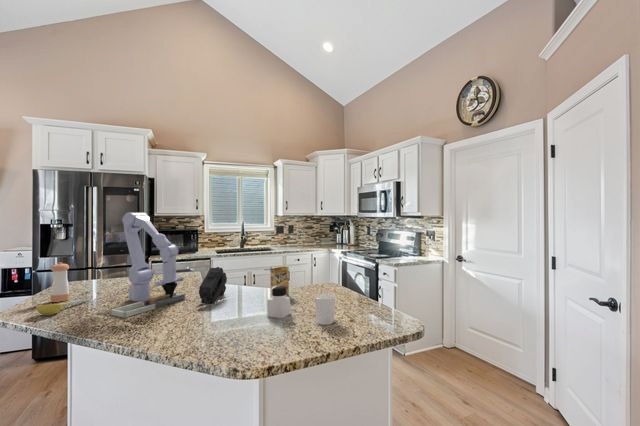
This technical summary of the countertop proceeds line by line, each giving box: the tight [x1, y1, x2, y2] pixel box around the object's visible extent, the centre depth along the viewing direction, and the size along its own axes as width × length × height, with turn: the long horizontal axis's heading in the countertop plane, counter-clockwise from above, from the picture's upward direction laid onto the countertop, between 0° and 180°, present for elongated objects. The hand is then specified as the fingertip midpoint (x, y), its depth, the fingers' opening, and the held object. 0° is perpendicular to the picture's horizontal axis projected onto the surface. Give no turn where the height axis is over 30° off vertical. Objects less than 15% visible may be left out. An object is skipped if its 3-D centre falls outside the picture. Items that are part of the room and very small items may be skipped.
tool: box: [198, 266, 228, 304], centre depth 150 cm, size 7×21×16 cm, turn 174°
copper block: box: [148, 294, 162, 305], centre depth 140 cm, size 4×4×4 cm
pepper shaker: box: [50, 262, 71, 303], centre depth 152 cm, size 7×7×19 cm
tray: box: [110, 301, 156, 319], centre depth 131 cm, size 9×13×3 cm
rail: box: [142, 291, 187, 309], centre depth 144 cm, size 10×16×4 cm, turn 154°
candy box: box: [269, 265, 290, 298], centre depth 159 cm, size 9×4×15 cm, turn 125°
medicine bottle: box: [266, 286, 291, 320], centre depth 128 cm, size 7×7×12 cm
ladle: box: [35, 299, 91, 316], centre depth 139 cm, size 9×26×6 cm, turn 179°
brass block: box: [157, 292, 170, 299], centre depth 143 cm, size 4×4×4 cm
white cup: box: [314, 293, 336, 326], centre depth 119 cm, size 8×8×10 cm
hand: (169, 298), depth 146 cm, fingers closed
